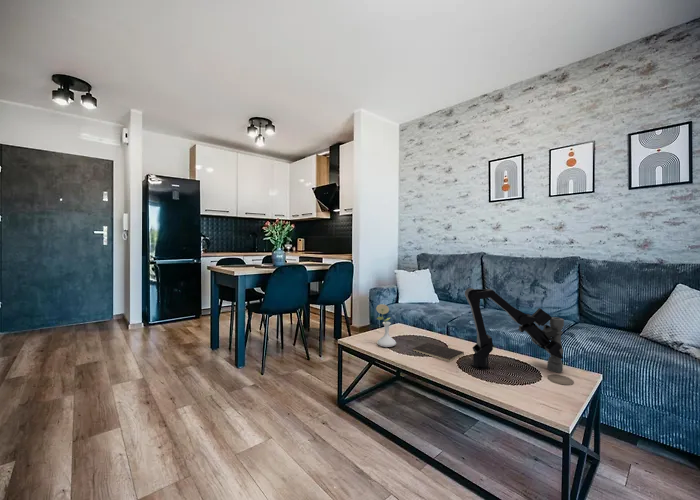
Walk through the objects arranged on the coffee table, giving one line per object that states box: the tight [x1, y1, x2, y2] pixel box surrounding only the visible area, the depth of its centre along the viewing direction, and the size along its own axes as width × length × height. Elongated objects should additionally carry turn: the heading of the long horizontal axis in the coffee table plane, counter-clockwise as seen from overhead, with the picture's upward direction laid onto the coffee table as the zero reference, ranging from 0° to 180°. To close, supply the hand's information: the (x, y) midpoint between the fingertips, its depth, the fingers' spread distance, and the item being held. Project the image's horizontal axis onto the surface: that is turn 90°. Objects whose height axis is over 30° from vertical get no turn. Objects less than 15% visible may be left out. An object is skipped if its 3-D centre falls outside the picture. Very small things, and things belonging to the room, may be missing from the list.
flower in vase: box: [375, 303, 397, 348], centre depth 188 cm, size 13×11×25 cm
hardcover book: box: [412, 341, 465, 363], centre depth 175 cm, size 16×23×2 cm
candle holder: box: [546, 316, 565, 373], centre depth 150 cm, size 6×6×25 cm
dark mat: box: [546, 373, 575, 386], centre depth 139 cm, size 10×10×1 cm
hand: (558, 355), depth 150 cm, fingers closed on candle holder, 6 cm apart
